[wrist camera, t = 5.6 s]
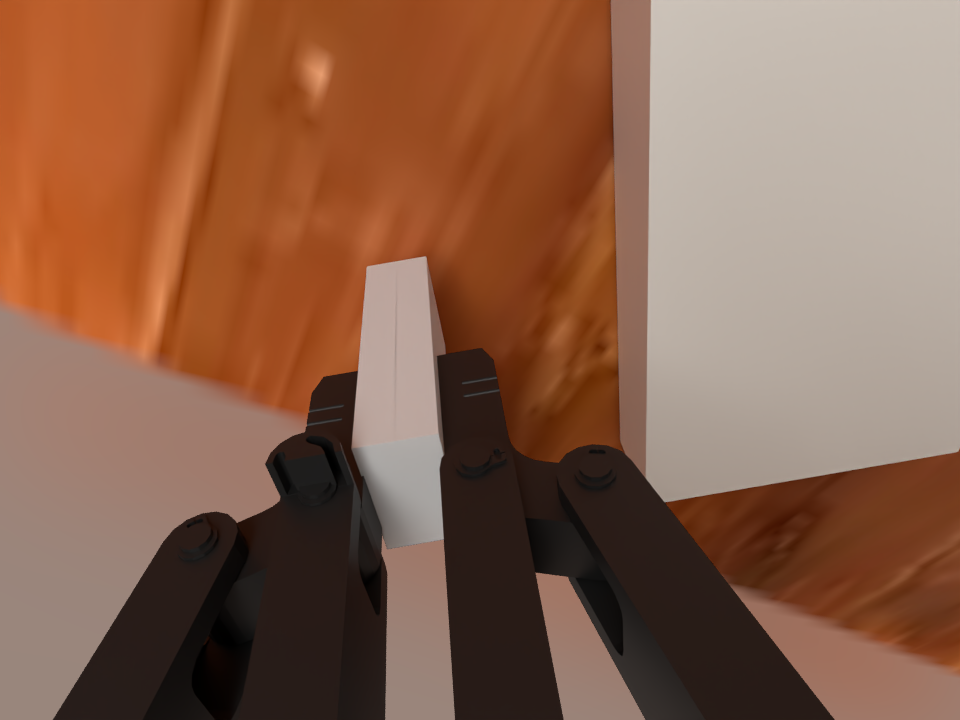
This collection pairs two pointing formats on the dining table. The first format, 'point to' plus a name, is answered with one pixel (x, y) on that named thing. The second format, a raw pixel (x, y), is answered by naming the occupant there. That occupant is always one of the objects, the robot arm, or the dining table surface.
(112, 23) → the dining table surface
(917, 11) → the pale grey flat slab
